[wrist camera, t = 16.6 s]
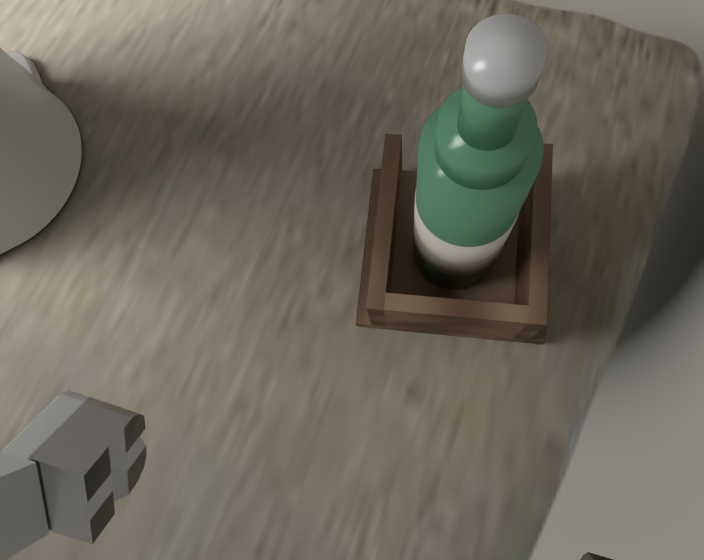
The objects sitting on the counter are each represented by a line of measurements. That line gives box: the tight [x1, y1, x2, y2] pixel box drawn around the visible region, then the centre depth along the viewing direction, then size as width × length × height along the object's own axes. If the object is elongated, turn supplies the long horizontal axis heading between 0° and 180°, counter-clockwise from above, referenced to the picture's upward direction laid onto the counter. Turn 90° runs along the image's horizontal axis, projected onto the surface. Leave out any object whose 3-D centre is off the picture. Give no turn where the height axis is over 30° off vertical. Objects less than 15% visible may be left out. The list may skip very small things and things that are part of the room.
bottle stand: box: [356, 134, 553, 344], centre depth 38 cm, size 12×11×6 cm
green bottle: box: [413, 14, 548, 290], centre depth 30 cm, size 6×6×21 cm
